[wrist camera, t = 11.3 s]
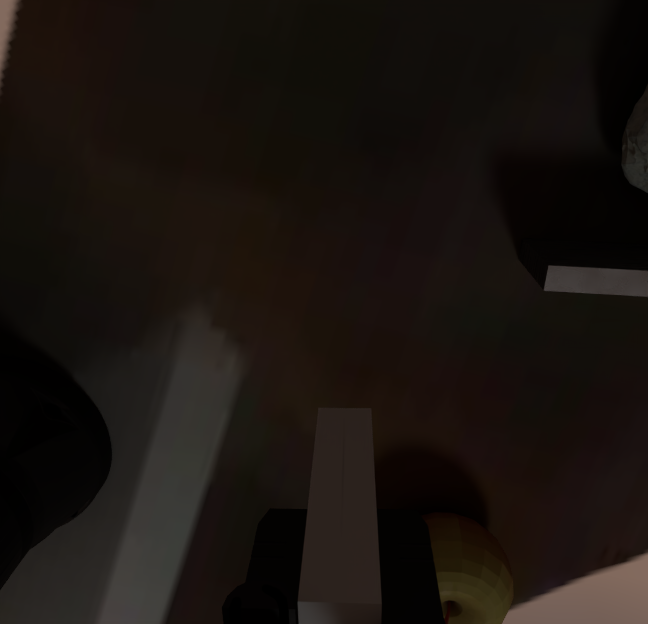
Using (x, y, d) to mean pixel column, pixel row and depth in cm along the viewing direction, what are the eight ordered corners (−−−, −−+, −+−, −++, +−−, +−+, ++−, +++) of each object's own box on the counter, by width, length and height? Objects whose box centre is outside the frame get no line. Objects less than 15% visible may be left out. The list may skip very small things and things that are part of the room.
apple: (369, 568, 49) (368, 654, 42) (399, 480, 46) (403, 557, 38) (479, 594, 49) (497, 684, 42) (518, 508, 46) (545, 590, 38)
